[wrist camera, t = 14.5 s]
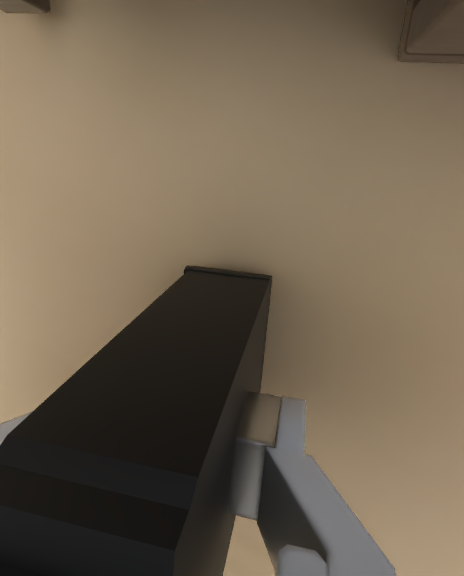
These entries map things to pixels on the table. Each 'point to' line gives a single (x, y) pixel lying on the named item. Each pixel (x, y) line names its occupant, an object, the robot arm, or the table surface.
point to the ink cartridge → (140, 441)
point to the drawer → (25, 6)
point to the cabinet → (433, 32)
